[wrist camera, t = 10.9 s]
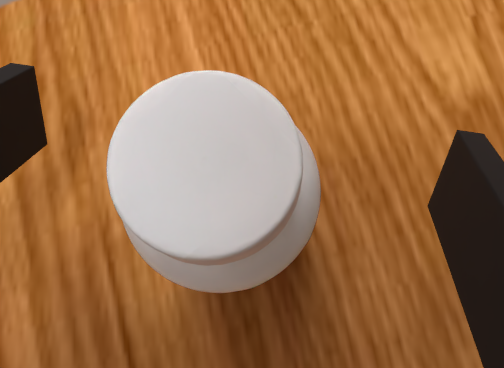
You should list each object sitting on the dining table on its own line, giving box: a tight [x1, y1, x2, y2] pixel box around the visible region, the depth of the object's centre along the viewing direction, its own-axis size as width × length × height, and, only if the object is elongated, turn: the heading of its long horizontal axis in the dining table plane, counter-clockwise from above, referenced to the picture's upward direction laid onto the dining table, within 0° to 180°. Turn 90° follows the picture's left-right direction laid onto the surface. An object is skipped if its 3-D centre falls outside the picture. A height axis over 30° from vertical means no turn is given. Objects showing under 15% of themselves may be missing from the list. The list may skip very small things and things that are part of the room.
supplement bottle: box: [107, 70, 321, 293], centre depth 13 cm, size 5×5×10 cm
